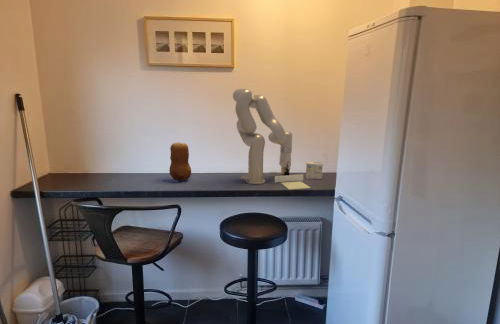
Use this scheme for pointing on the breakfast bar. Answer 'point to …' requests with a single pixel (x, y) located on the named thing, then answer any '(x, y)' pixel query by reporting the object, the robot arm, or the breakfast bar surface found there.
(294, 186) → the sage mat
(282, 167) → the birch cylinder
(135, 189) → the breakfast bar surface
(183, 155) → the butternut squash
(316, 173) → the light bulb box
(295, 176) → the cream plank
